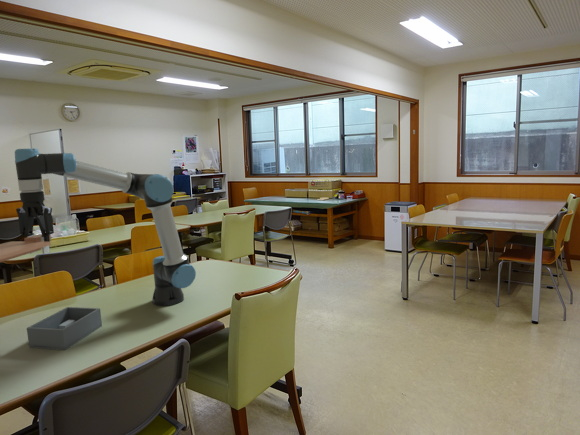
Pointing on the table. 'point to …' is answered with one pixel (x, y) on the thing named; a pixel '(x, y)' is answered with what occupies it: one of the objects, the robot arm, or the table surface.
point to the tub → (64, 328)
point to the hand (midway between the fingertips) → (39, 252)
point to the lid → (21, 247)
